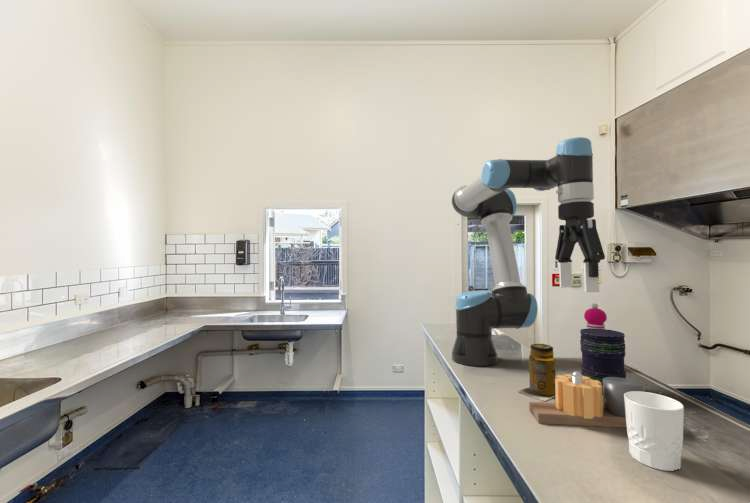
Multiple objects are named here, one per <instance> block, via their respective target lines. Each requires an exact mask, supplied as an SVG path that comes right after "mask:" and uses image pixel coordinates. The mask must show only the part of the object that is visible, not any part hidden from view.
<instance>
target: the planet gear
mask: <svg viewBox="0 0 750 503" xmlns="http://www.w3.org/2000/svg"><path fill="white" fill-rule="evenodd" d="M582 382H583V384H577V383H573V382H572V373H570V374H569V373H568V374H566V373H565V375H564V374H563V375H560V374H557V375H555V395H556V397H555V403H556V407H557V409H558V410H563V411H564V412H566V414H568V415H571V416H575V415H576V416H582V417H583V418H588V419H593V417H595V416H597V417H601V416H603V396H602V386H601V382H599V381H598V380H592V379H590V377H586V376H582Z"/></svg>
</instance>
